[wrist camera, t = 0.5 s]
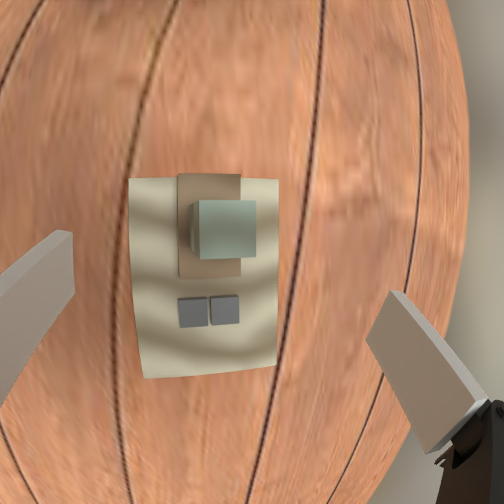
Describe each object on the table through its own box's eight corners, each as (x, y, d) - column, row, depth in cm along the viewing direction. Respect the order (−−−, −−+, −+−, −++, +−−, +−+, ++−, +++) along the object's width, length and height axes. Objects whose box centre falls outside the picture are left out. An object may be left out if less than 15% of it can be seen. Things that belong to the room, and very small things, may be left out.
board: (130, 180, 29) (128, 178, 28) (273, 180, 34) (278, 179, 32) (143, 372, 32) (143, 378, 30) (271, 359, 36) (276, 365, 35)
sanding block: (177, 177, 29) (184, 156, 19) (234, 177, 31) (269, 159, 21) (178, 274, 30) (187, 302, 20) (234, 271, 32) (269, 296, 22)
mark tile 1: (177, 298, 31) (178, 300, 30) (205, 296, 31) (207, 299, 30) (179, 324, 31) (180, 328, 30) (206, 322, 32) (208, 326, 31)
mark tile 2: (209, 296, 32) (210, 298, 31) (236, 294, 32) (239, 296, 31) (210, 322, 32) (212, 325, 31) (237, 320, 33) (239, 323, 32)
